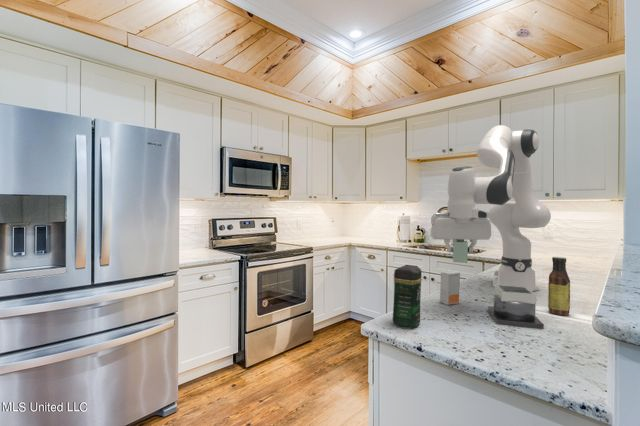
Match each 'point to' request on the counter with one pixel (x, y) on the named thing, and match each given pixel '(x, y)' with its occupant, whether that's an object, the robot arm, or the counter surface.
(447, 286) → the skincare box
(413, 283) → the coffee jar
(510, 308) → the framed dark dome
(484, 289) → the counter surface
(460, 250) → the pale green block
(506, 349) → the counter surface
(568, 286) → the sauce bottle
